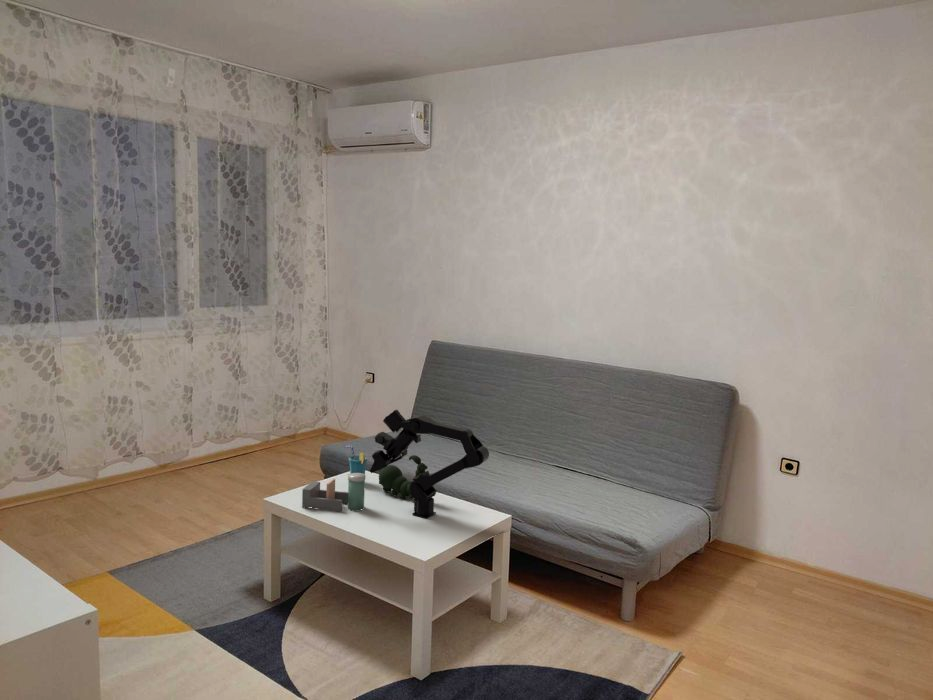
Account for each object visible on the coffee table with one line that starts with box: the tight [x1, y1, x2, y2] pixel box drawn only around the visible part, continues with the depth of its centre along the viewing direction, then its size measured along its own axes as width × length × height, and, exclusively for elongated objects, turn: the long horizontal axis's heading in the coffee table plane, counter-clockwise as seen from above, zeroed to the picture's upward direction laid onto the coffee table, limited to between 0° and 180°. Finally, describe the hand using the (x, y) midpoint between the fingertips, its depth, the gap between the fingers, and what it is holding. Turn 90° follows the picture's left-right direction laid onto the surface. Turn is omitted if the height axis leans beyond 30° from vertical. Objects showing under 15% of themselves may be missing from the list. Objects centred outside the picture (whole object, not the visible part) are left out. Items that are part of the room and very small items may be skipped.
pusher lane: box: [301, 480, 348, 512], centre depth 253 cm, size 15×10×7 cm, turn 81°
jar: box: [347, 473, 366, 511], centre depth 251 cm, size 6×6×12 cm
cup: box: [345, 445, 368, 475], centre depth 281 cm, size 14×8×15 cm, turn 46°
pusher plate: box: [326, 478, 336, 499], centre depth 253 cm, size 1×7×9 cm, turn 171°
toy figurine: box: [377, 454, 429, 500], centre depth 268 cm, size 9×19×25 cm
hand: (376, 468), depth 253 cm, fingers open, 9 cm apart
